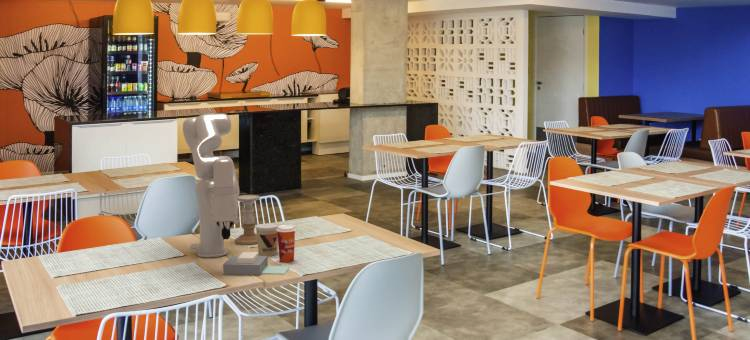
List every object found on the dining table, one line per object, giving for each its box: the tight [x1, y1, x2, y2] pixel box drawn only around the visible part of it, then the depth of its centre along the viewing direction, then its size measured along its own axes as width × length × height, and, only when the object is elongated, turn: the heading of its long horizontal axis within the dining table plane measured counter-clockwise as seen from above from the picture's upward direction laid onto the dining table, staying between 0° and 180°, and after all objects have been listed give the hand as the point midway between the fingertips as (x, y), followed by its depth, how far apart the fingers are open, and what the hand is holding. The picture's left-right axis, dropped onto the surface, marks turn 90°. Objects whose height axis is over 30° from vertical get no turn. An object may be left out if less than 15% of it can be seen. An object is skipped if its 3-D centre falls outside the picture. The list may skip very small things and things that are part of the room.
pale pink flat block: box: [237, 251, 260, 263], centre depth 295 cm, size 6×9×2 cm, turn 175°
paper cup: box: [276, 224, 297, 264], centre depth 308 cm, size 8×8×14 cm
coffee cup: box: [255, 223, 279, 257], centre depth 319 cm, size 9×9×12 cm
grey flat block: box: [222, 254, 269, 276], centre depth 295 cm, size 14×13×4 cm
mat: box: [261, 265, 291, 275], centre depth 295 cm, size 9×10×1 cm
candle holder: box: [234, 194, 261, 246], centre depth 339 cm, size 12×12×20 cm
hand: (226, 238), depth 294 cm, fingers closed
